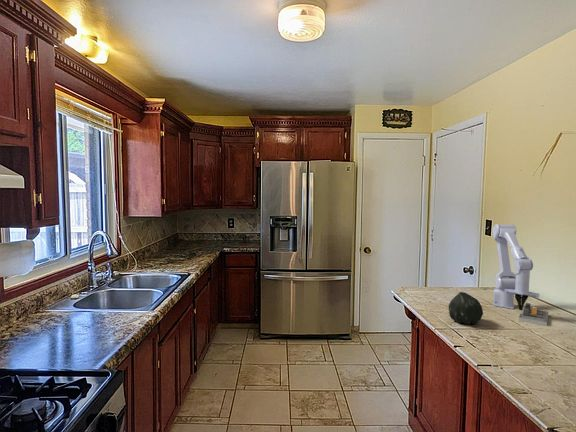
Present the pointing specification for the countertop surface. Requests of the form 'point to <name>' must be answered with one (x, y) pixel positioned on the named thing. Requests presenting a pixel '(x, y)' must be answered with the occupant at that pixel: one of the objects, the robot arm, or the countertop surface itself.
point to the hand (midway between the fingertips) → (520, 309)
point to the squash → (465, 309)
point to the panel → (535, 317)
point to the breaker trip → (534, 310)
